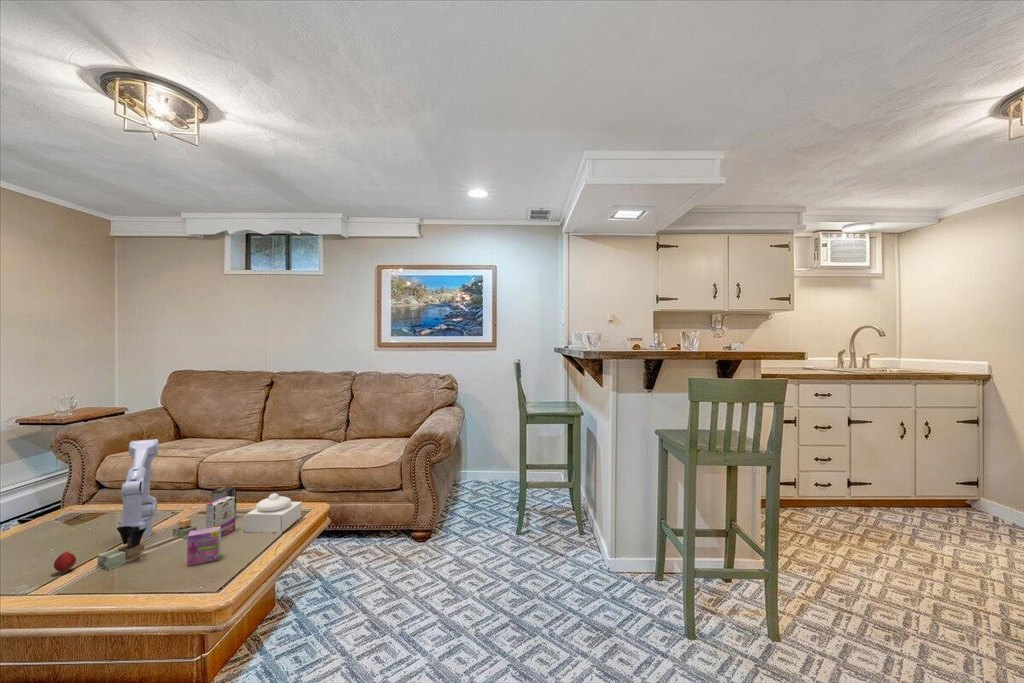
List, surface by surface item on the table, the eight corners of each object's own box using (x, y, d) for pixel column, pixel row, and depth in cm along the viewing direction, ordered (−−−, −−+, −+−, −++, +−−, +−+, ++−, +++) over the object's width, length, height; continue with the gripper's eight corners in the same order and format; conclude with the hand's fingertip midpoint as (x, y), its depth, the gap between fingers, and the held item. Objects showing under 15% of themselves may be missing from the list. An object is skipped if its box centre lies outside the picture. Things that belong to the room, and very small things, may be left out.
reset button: (178, 530, 192) (178, 520, 193) (186, 528, 195) (186, 518, 196) (183, 531, 191) (183, 521, 192) (190, 529, 194) (191, 519, 194)
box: (186, 566, 167) (187, 535, 168) (189, 560, 172) (190, 530, 173) (218, 560, 172) (219, 530, 172) (220, 554, 177) (221, 525, 177)
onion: (55, 577, 159) (56, 555, 159) (51, 573, 162) (52, 551, 162) (77, 570, 163) (78, 549, 164) (73, 566, 167) (73, 546, 167)
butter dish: (267, 518, 216) (267, 487, 217) (302, 519, 216) (302, 487, 216) (244, 533, 199) (245, 498, 199) (282, 533, 198) (282, 499, 199)
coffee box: (225, 517, 217) (225, 485, 218) (236, 518, 216) (237, 486, 217) (210, 524, 208) (210, 491, 209) (222, 525, 207) (222, 491, 208)
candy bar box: (226, 531, 200) (227, 495, 201) (235, 532, 200) (236, 496, 200) (204, 541, 190) (205, 504, 190) (214, 542, 189) (215, 504, 189)
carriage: (117, 554, 172) (118, 538, 173) (135, 548, 178) (135, 532, 178) (126, 557, 170) (127, 540, 170) (144, 550, 176) (144, 534, 176)
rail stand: (97, 566, 167) (97, 554, 167) (184, 534, 197) (184, 524, 197) (109, 569, 164) (110, 558, 164) (196, 536, 194) (196, 526, 194)
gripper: (109, 511, 173) (108, 545, 173) (131, 516, 168) (130, 551, 168) (130, 505, 180) (129, 538, 180) (152, 510, 175) (151, 543, 175)
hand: (131, 544), depth 174 cm, fingers open, 5 cm apart
